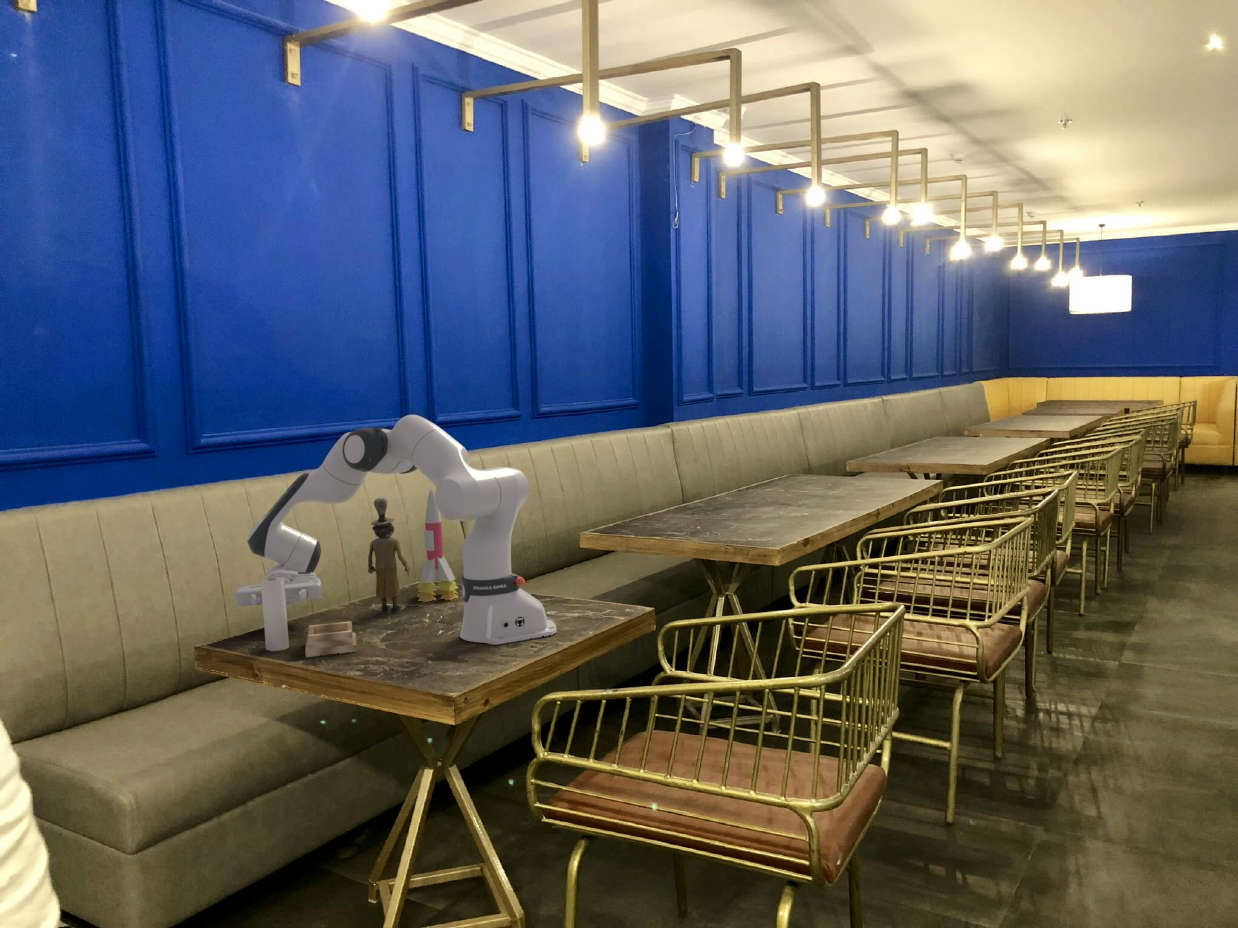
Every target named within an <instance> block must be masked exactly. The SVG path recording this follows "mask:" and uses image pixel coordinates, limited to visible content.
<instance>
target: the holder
mask: <svg viewBox="0 0 1238 928" xmlns="http://www.w3.org/2000/svg"><path fill="white" fill-rule="evenodd" d="M307 632H308V633H307V637H306V639H305V640H306V642H305V650H304V651H305V658H312V657H320V655H321V656H330V655H338V654H337V653H339V654H347V652H348V653H356V652H358V649H357V647H358V645H357V633H356V632H353V623H352V621H351V620H350V621H342V622H331V623H322V624H313V625H308V631H307ZM329 654H330V655H329Z"/></svg>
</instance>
